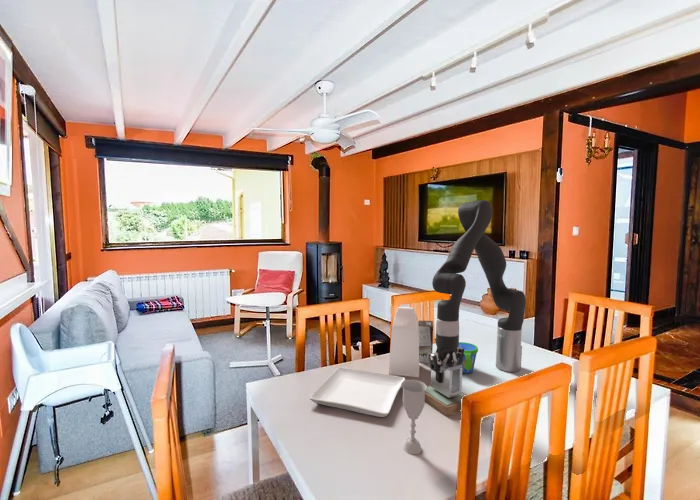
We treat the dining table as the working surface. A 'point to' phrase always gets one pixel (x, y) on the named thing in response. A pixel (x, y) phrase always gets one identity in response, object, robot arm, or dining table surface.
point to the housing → (449, 379)
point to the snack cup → (468, 356)
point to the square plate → (359, 391)
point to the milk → (404, 343)
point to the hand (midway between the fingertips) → (445, 380)
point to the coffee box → (425, 340)
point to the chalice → (413, 410)
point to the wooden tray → (443, 401)
